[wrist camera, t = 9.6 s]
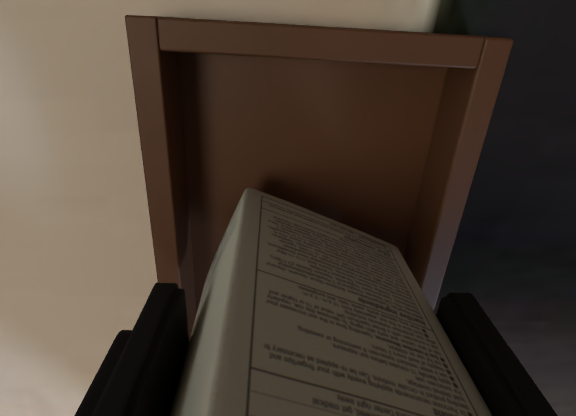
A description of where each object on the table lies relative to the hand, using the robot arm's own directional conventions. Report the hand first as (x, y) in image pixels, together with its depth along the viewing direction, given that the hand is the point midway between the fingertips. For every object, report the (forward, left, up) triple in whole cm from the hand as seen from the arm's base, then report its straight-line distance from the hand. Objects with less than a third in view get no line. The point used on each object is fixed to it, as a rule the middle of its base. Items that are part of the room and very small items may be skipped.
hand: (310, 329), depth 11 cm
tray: (0, 0, -5) cm, 5 cm away
